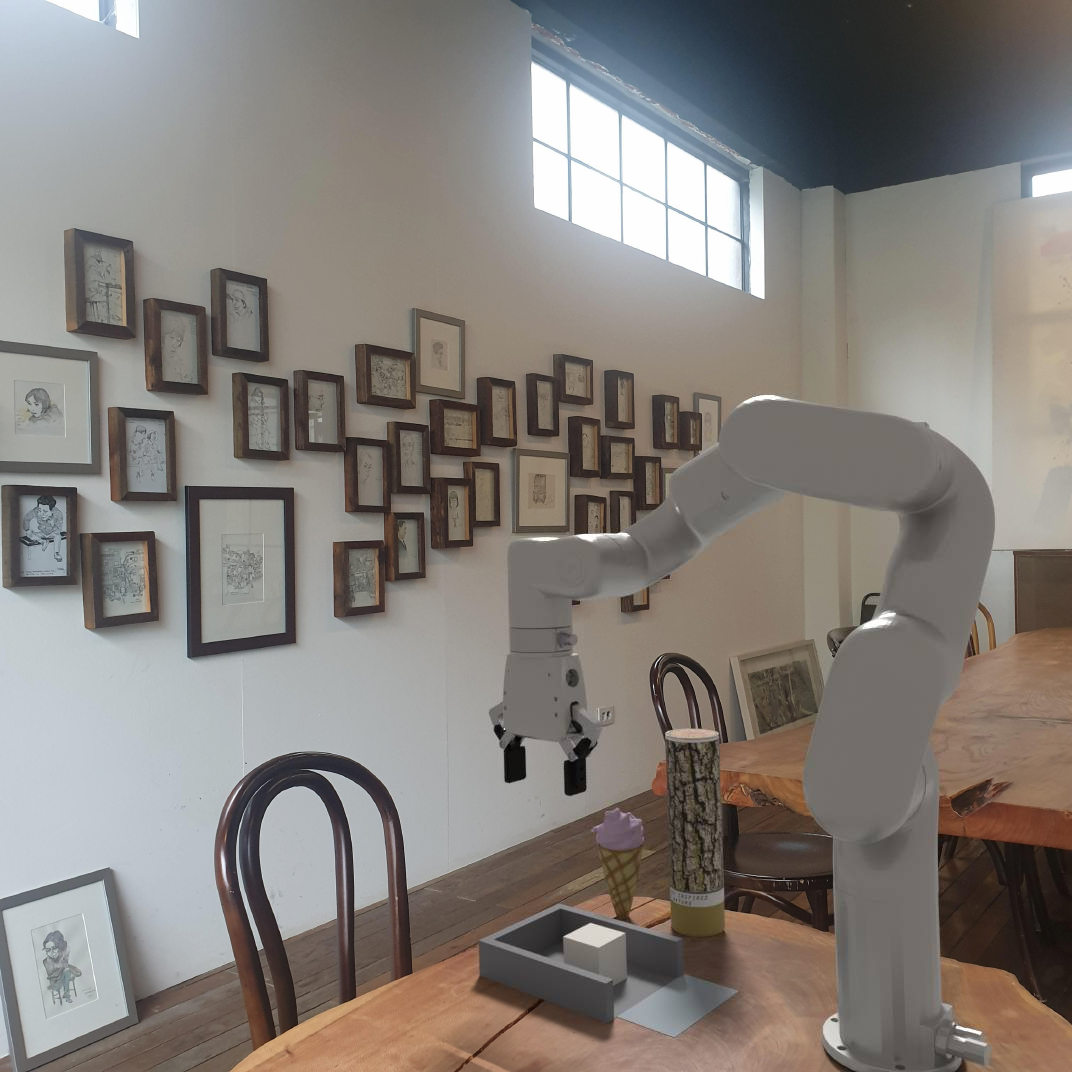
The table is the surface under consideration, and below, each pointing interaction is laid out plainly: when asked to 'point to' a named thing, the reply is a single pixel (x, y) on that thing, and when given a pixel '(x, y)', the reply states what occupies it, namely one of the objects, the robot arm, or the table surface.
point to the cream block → (597, 951)
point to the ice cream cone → (620, 857)
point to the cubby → (642, 998)
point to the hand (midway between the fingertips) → (544, 787)
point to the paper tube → (695, 832)
